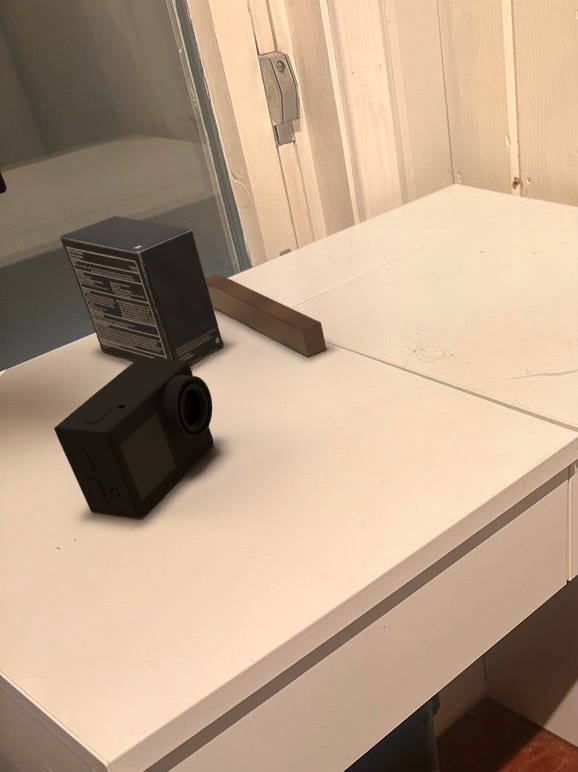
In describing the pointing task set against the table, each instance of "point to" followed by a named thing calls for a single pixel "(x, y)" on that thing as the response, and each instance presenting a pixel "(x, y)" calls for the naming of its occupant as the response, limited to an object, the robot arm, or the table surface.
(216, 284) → the brown wooden bar
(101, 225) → the small box
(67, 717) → the table surface
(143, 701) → the table surface
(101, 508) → the digital camera
